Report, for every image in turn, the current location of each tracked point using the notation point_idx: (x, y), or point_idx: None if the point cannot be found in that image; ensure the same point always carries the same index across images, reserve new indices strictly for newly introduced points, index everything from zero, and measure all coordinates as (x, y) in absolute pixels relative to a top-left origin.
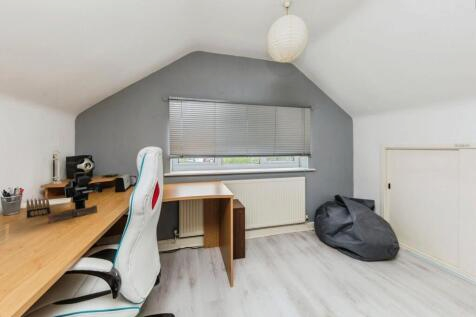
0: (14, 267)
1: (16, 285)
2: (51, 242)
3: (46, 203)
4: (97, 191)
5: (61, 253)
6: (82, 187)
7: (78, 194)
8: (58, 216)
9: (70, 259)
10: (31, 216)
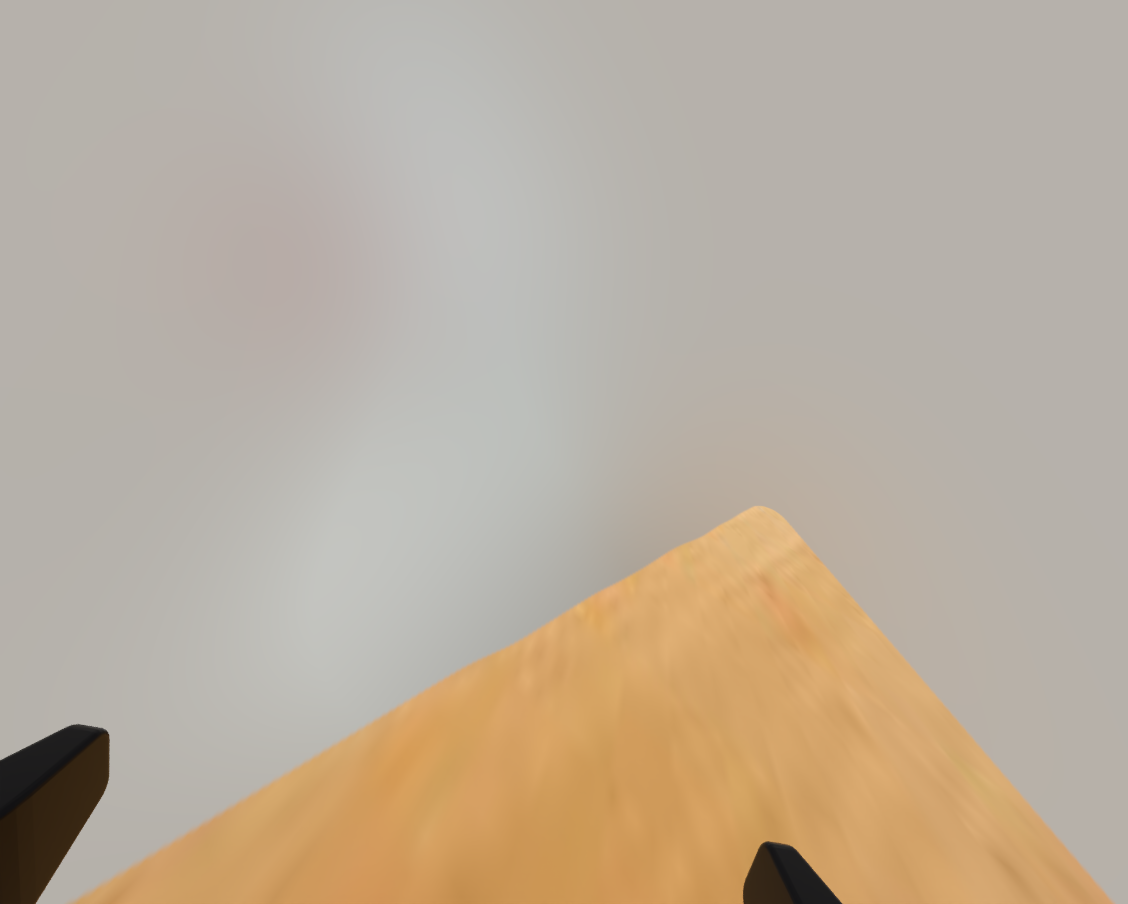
0: (868, 643)
1: (798, 556)
2: (799, 762)
3: None
4: (79, 785)
5: (709, 604)
6: None
7: (758, 892)
8: None
9: (672, 551)
10: None
